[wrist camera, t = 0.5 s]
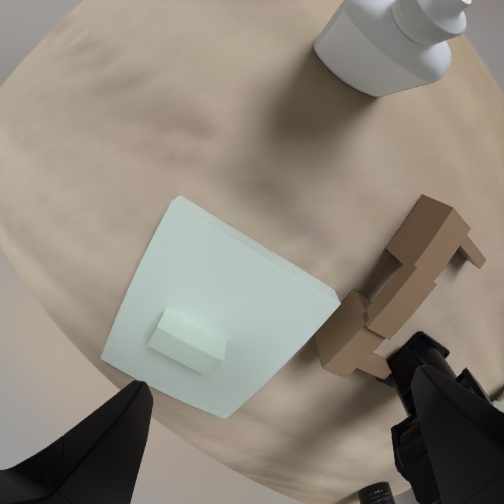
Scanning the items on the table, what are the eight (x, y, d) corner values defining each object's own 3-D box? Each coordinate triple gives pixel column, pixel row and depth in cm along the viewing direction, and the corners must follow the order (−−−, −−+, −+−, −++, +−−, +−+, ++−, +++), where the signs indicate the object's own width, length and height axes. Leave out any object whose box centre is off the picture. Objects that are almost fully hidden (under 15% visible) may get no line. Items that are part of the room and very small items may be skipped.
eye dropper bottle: (344, 110, 16) (465, 81, 5) (304, 37, 14) (365, -70, 3) (396, 91, 15) (528, 67, 4) (359, 22, 14) (452, -61, 2)
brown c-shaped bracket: (473, 251, 20) (503, 271, 16) (377, 365, 24) (392, 398, 20) (422, 194, 18) (457, 209, 14) (313, 334, 23) (323, 372, 18)
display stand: (334, 289, 21) (349, 321, 17) (226, 404, 26) (223, 436, 22) (179, 195, 18) (160, 210, 15) (108, 344, 23) (90, 374, 20)
